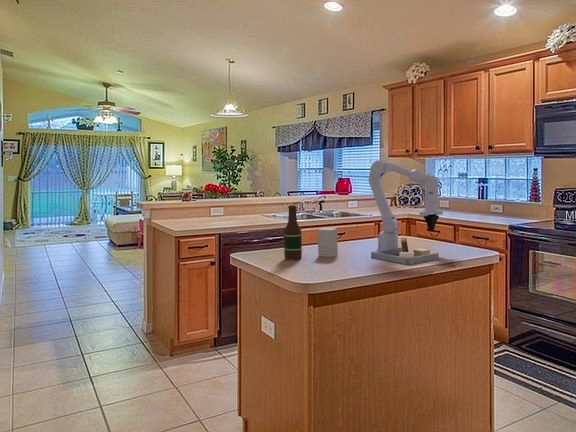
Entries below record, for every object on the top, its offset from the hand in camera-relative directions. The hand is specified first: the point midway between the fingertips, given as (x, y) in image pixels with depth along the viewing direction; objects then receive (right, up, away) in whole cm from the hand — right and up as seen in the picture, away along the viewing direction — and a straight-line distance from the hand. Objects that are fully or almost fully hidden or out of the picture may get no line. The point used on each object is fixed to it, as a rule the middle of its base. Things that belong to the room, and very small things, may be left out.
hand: (431, 230), depth 220 cm
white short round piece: (-17, -13, -21) cm, 29 cm away
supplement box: (-49, -12, -2) cm, 50 cm away
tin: (-14, -12, -10) cm, 21 cm away
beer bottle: (-65, -13, -9) cm, 67 cm away
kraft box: (-8, -12, -13) cm, 19 cm away
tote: (-15, -12, -12) cm, 23 cm away
